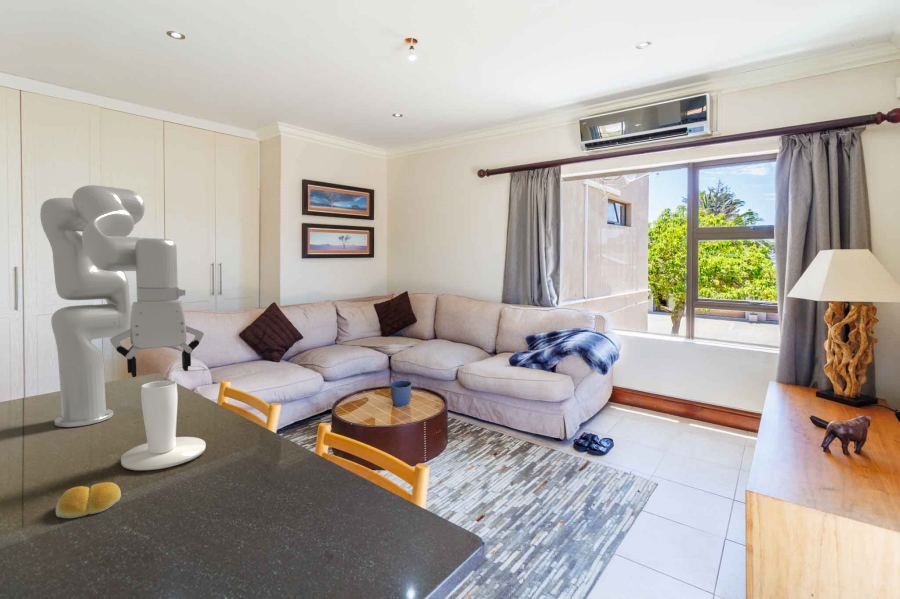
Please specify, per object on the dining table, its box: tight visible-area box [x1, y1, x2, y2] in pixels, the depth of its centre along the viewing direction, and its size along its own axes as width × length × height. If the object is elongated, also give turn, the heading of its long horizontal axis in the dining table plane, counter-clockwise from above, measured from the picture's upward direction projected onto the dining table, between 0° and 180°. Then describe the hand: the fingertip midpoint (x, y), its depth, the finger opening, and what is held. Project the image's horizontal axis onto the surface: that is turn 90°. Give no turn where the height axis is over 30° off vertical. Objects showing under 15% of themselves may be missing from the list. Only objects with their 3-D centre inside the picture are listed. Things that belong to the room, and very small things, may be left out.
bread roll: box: [55, 481, 122, 519], centre depth 81 cm, size 8×9×4 cm
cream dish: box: [120, 436, 207, 471], centre depth 102 cm, size 16×16×2 cm
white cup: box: [140, 379, 179, 454], centre depth 101 cm, size 7×7×15 cm
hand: (160, 372), depth 101 cm, fingers open, 9 cm apart
